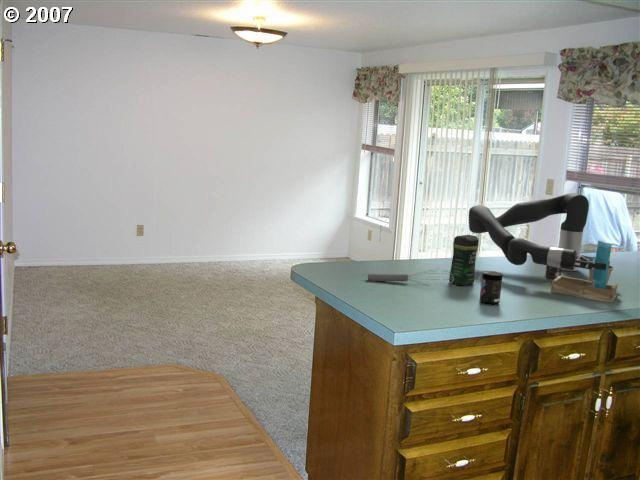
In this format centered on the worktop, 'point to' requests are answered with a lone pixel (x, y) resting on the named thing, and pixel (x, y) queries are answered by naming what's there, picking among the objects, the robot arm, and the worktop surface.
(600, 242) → the tube
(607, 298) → the keyhole tray
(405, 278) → the kitchen whisk
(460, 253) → the coffee jar
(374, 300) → the worktop surface
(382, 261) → the worktop surface
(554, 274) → the supplement bottle
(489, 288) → the supplement container
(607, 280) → the flower pot
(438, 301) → the worktop surface
